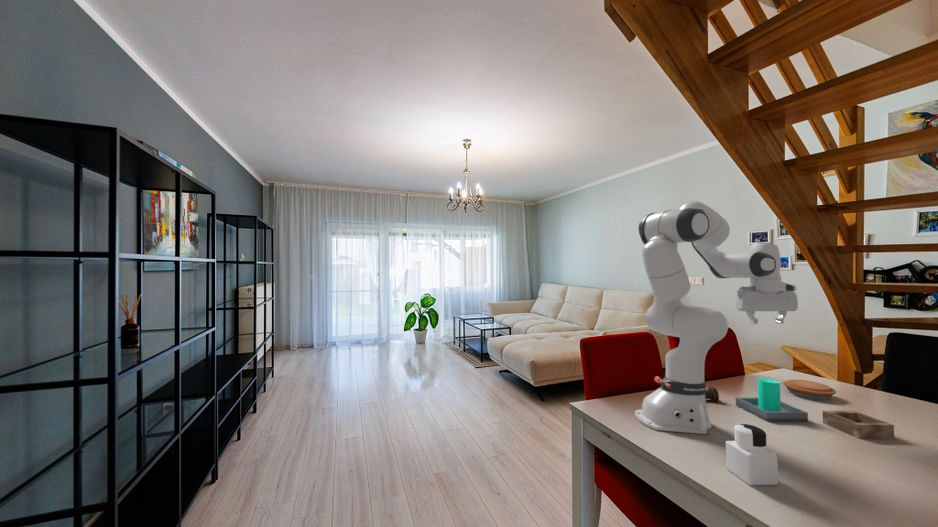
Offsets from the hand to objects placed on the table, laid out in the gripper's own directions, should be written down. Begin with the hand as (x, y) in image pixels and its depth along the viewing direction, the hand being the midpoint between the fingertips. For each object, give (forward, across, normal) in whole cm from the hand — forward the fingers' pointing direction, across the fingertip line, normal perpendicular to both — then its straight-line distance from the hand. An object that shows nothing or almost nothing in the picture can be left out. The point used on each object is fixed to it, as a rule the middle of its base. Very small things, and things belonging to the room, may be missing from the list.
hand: (766, 323), depth 126 cm
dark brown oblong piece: (+32, -22, +8) cm, 39 cm away
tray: (+31, -4, -5) cm, 32 cm away
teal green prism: (+30, -4, -5) cm, 31 cm away
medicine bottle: (+31, -41, -43) cm, 67 cm away
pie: (+32, +27, +13) cm, 43 cm away
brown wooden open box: (+31, +12, -18) cm, 38 cm away
